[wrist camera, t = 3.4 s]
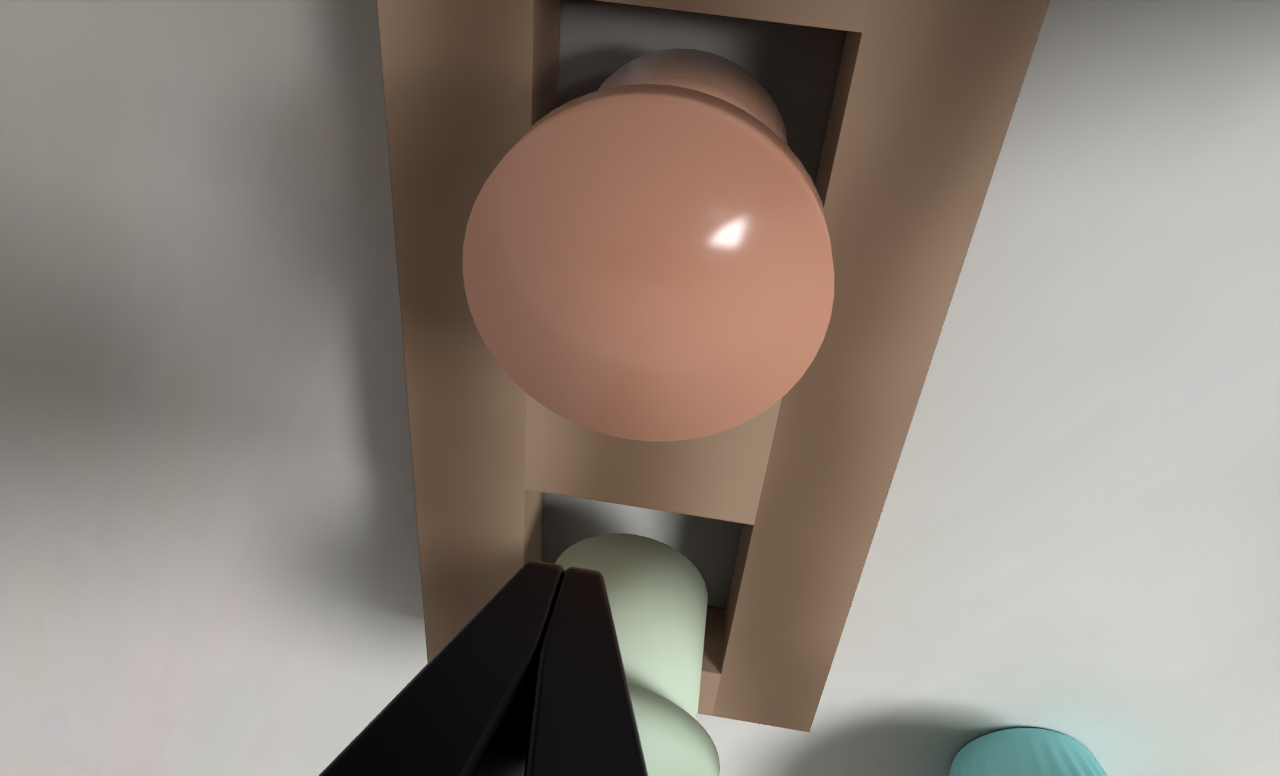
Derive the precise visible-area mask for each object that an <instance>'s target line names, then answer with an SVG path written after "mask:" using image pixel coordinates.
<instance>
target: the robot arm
mask: <svg viewBox="0 0 1280 776" xmlns="http://www.w3.org/2000/svg"><path fill="white" fill-rule="evenodd" d="M319 776H648V772H647V768H646V763H645V759H644V754H643V750H642V745H641V741H640V736H639V732H638V728H637V723H636V719H635V714H634V710H633V705H632V701H631V697H630V692H629V688H628V683H627V679H626V674H625V670H624V665H623V661H622V657H621V652H620V648H619V643H618V639H617V634H616V630H615V625H614V621H613V617H612V612H611V608H610V603H609V599H608V594H607V590H606V586H605V581H604V577H603V575H602V573H601V572H599V571H596V570H590V569H584V568H578V567H569V568H567V569H566V570H564V568H563V567H562V566H561V565H559V564H553V563H547V562H541V561H535V560H532V561H529V562H527V563H526V564H525V565H524V566H523V567H522V568H521V569H520V570H519V571H518V572H517V573H516V574H515V575H514V576H513V577H512V578H511V579H510V580H509V581H508V582H507V583H506V584H505V585H504V586H503V587H502V588H501V589H500V590H499V591H498V592H497V593H496V594H495V595H494V596H493V597H492V598H491V599H490V600H489V601H488V602H487V603H486V604H485V606H484V607H483V608H482V609H481V610H480V611H479V612H478V613H477V614H476V615H475V616H474V617H473V618H472V619H471V620H470V621H469V622H468V623H467V624H466V625H465V626H464V627H463V628H462V629H461V630H460V631H459V632H458V633H457V634H456V635H455V636H454V637H453V638H452V639H451V640H450V641H449V642H448V643H447V644H446V646H445V647H444V648H443V649H442V650H441V651H440V652H439V653H438V654H437V655H436V656H435V657H434V658H433V659H432V660H431V661H430V662H429V663H428V664H427V665H426V666H425V667H424V668H423V669H422V670H421V671H420V672H419V673H418V674H417V675H416V676H415V677H414V678H413V679H412V680H411V681H410V682H409V683H408V684H407V686H406V687H405V688H404V689H403V690H402V691H401V692H400V693H399V694H398V695H397V696H396V697H395V698H394V699H393V700H392V701H391V702H390V703H389V704H388V705H387V706H386V707H385V708H384V709H383V710H382V711H381V712H380V713H379V714H378V715H377V716H376V717H375V718H374V719H373V720H372V721H371V722H370V723H369V724H368V726H367V727H366V728H365V729H364V730H363V731H362V732H361V733H360V734H359V735H358V736H357V737H356V738H355V739H354V740H353V741H352V742H351V743H350V744H349V745H348V746H347V747H346V748H345V749H344V750H343V751H342V752H341V753H340V754H339V755H338V756H337V757H336V758H335V759H334V760H333V761H332V762H331V763H330V765H329V766H328V767H327V768H326V769H325V770H324V771H323V772H322V773H321V774H320V775H319Z"/></svg>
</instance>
